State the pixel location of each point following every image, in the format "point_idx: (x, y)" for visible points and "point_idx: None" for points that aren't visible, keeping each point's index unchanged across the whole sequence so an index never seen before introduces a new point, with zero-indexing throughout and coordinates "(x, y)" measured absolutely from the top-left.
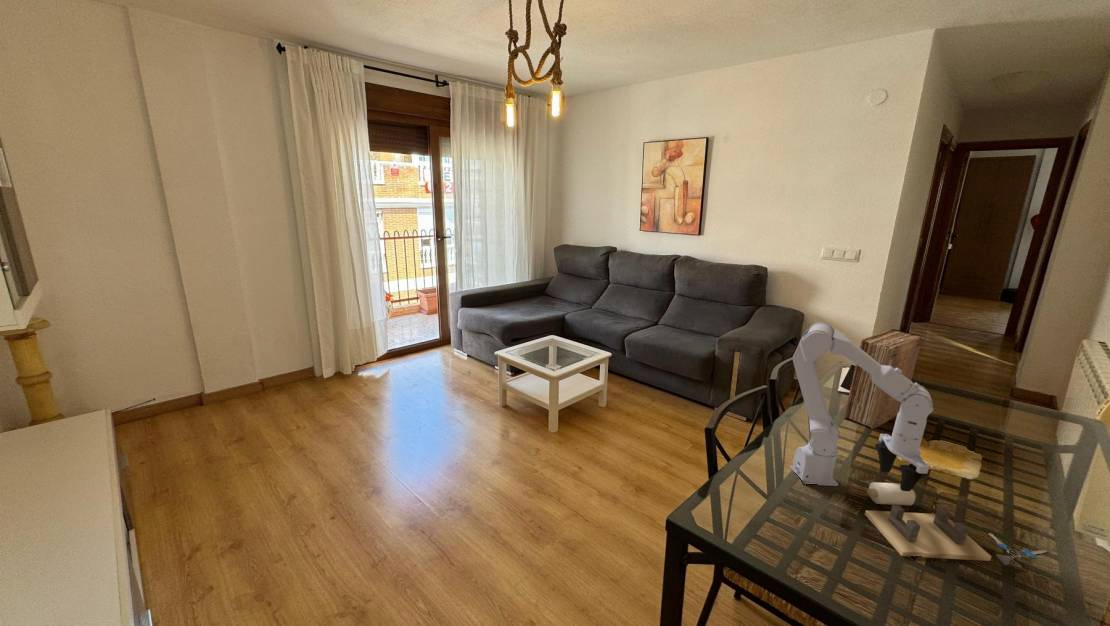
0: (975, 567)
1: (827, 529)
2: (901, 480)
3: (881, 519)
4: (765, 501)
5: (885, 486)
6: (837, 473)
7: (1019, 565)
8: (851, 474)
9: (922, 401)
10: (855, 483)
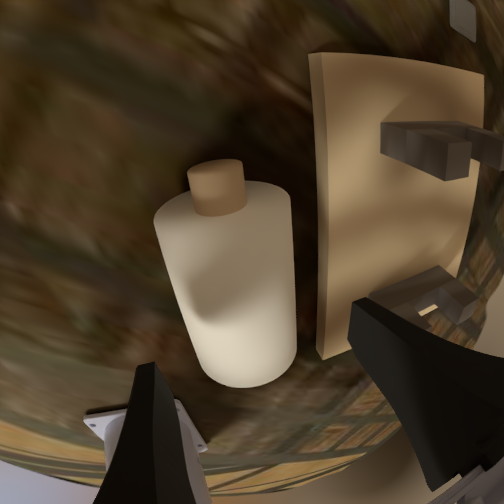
0: None
1: (360, 399)
2: (384, 392)
3: None
4: (286, 463)
5: (272, 360)
6: (80, 385)
7: (473, 8)
8: (54, 347)
9: None
10: (121, 350)
